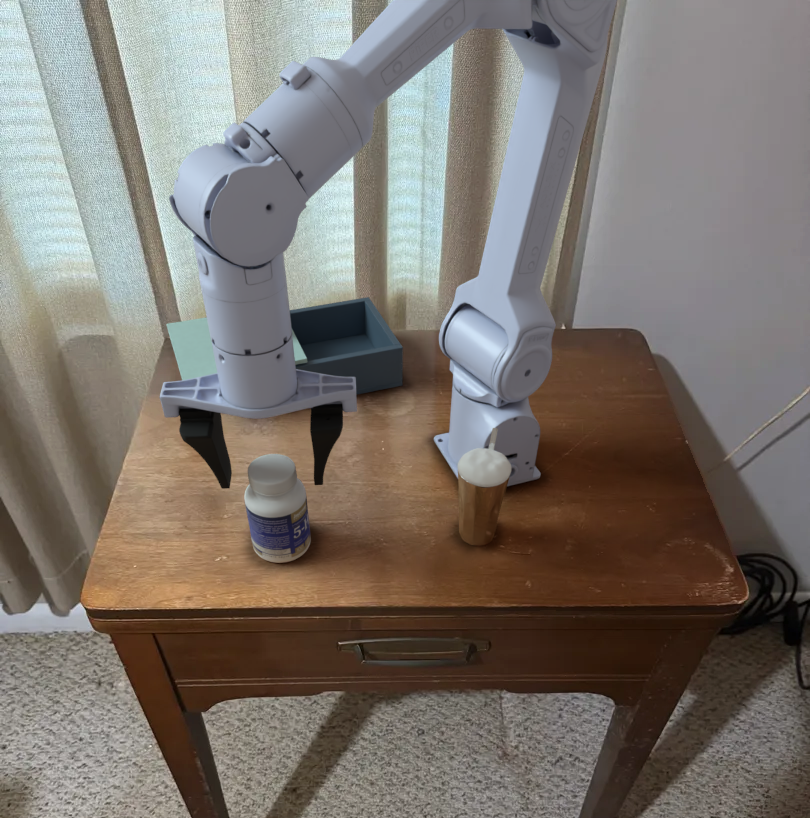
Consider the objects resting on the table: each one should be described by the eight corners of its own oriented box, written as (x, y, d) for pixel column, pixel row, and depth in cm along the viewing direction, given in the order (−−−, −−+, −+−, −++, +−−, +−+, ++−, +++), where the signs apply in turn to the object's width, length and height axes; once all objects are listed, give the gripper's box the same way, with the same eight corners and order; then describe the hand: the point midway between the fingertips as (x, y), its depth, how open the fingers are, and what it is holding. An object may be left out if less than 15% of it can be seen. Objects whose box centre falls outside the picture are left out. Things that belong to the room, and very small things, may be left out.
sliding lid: (307, 362, 80) (303, 322, 77) (183, 385, 77) (174, 344, 74) (280, 308, 88) (276, 270, 85) (167, 327, 85) (157, 288, 81)
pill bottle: (307, 565, 67) (299, 490, 61) (248, 563, 67) (233, 489, 61) (314, 523, 71) (306, 449, 64) (258, 522, 71) (245, 447, 64)
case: (402, 385, 87) (403, 347, 83) (292, 407, 83) (287, 368, 80) (369, 333, 94) (368, 296, 91) (267, 352, 91) (262, 314, 88)
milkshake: (508, 517, 72) (521, 433, 64) (494, 556, 68) (506, 472, 61) (462, 506, 73) (470, 422, 65) (446, 544, 69) (452, 459, 62)
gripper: (352, 303, 57) (358, 446, 66) (156, 308, 56) (191, 451, 66) (354, 354, 52) (360, 500, 62) (140, 360, 51) (180, 507, 61)
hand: (272, 479), depth 63 cm, fingers open, 7 cm apart
